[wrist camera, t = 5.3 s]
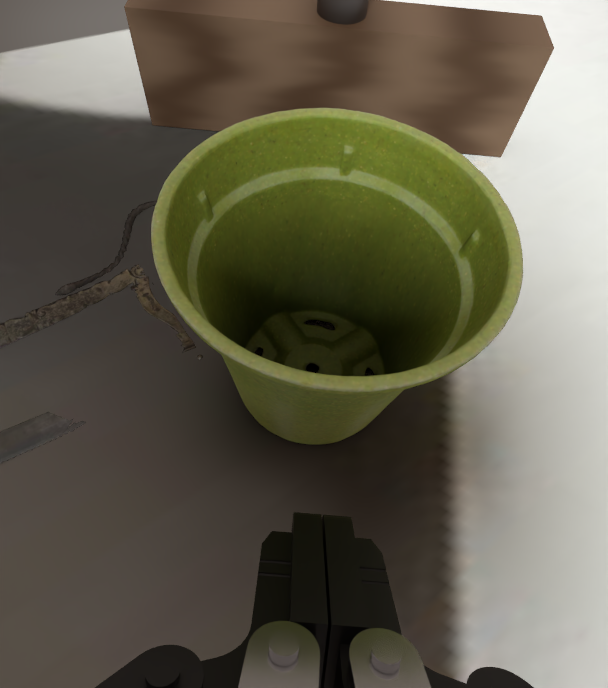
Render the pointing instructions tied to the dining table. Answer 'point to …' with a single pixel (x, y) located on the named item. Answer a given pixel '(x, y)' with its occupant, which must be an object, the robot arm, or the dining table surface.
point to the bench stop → (340, 63)
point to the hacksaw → (49, 424)
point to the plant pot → (334, 262)
